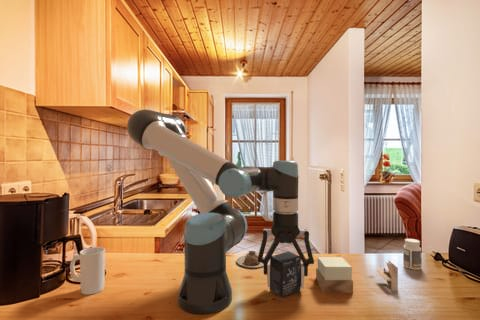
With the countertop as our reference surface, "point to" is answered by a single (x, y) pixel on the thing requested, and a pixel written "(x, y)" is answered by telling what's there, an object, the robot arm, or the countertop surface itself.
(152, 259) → the countertop surface
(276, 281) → the box
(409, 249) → the pill bottle
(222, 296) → the robot arm
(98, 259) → the mug
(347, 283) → the tower base
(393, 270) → the architectural model
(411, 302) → the countertop surface
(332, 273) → the tower top
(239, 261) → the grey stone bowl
